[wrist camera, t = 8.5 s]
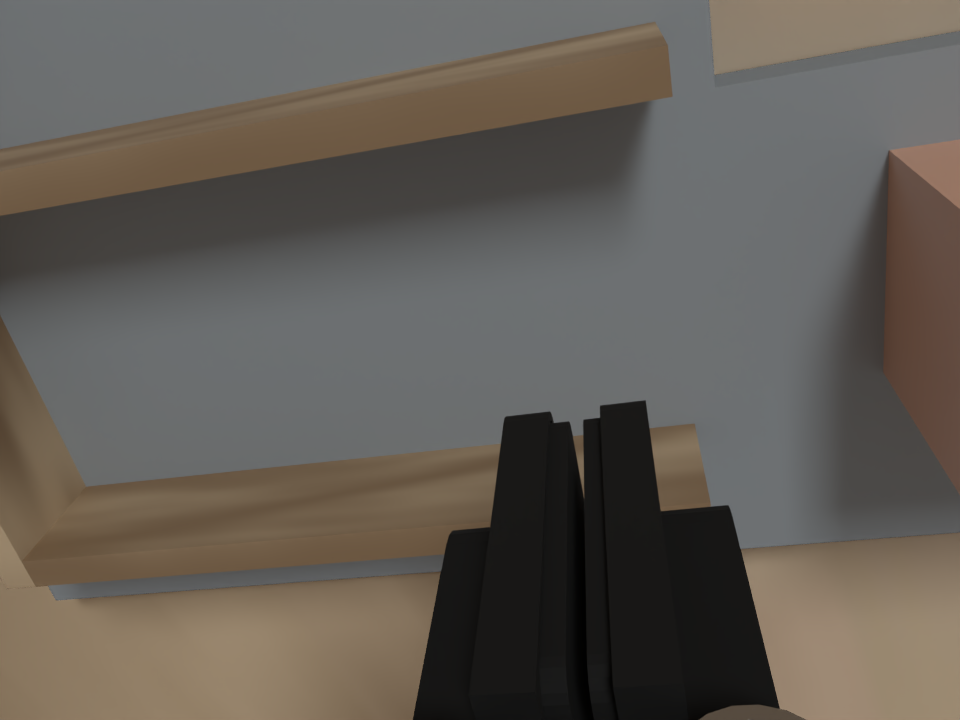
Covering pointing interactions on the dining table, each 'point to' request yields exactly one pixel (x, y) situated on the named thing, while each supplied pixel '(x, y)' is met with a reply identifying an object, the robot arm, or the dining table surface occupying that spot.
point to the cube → (925, 293)
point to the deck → (475, 262)
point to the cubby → (306, 487)
